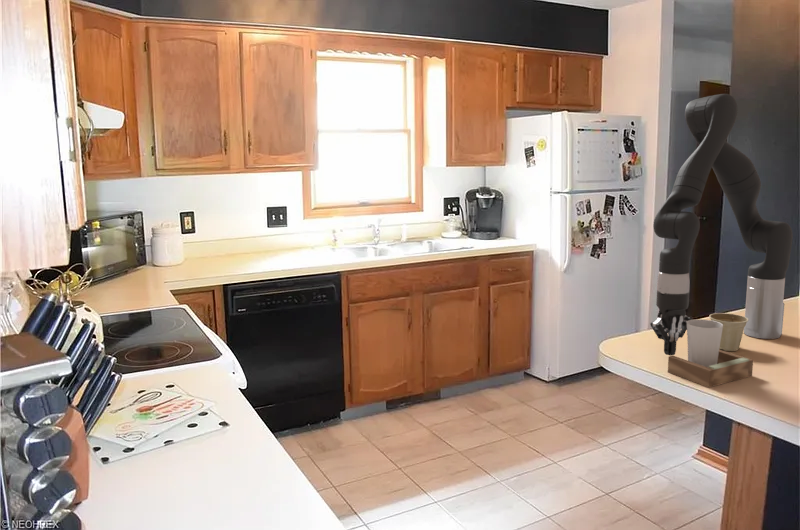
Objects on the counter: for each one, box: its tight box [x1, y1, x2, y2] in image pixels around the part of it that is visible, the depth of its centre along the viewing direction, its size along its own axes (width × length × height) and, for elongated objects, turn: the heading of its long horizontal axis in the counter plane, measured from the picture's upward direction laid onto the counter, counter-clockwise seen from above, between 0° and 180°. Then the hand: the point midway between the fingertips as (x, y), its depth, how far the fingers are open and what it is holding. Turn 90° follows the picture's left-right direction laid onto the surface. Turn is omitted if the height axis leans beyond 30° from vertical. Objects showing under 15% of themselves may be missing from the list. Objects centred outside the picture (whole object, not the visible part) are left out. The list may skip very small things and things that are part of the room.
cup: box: [686, 318, 723, 368], centre depth 150 cm, size 8×8×12 cm
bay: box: [667, 349, 754, 388], centre depth 148 cm, size 15×12×4 cm
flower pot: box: [708, 312, 748, 352], centre depth 167 cm, size 9×9×9 cm
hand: (669, 354), depth 159 cm, fingers closed
